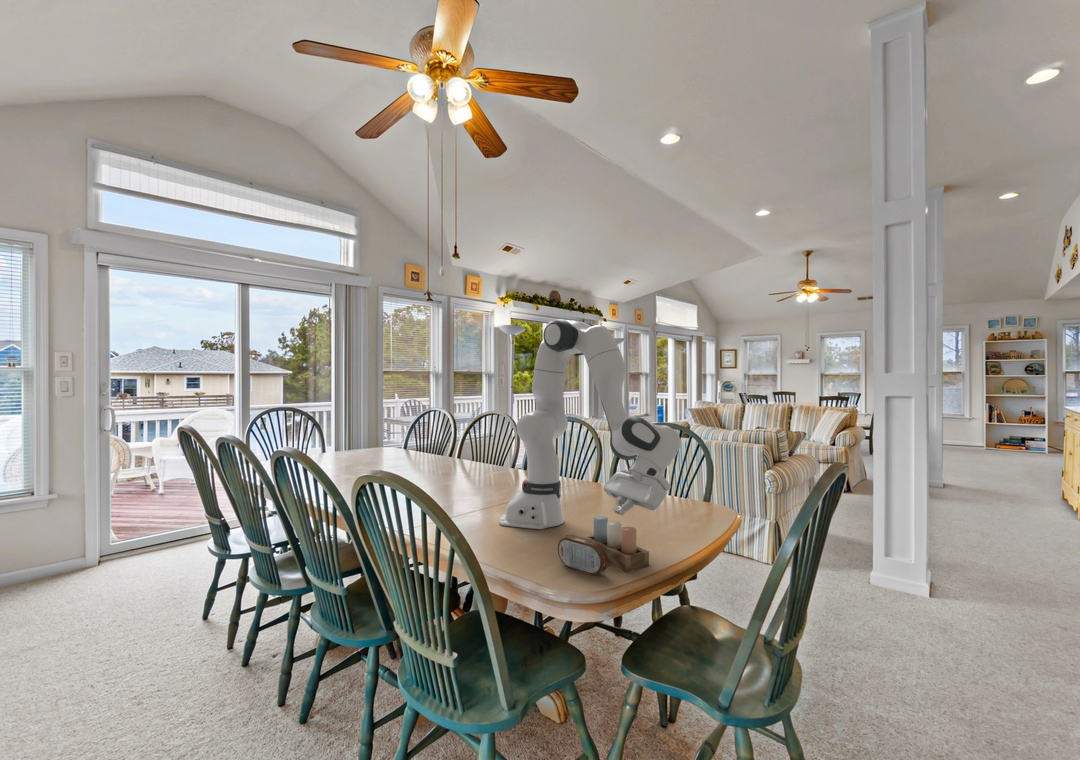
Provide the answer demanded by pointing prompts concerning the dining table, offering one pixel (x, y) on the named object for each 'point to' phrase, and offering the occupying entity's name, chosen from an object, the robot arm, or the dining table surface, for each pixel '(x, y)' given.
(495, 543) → the dining table surface
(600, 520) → the blue grey capsule
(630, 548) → the salmon pink capsule
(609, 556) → the three candle holder
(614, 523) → the white pillar candle
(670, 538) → the dining table surface
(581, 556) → the tin
